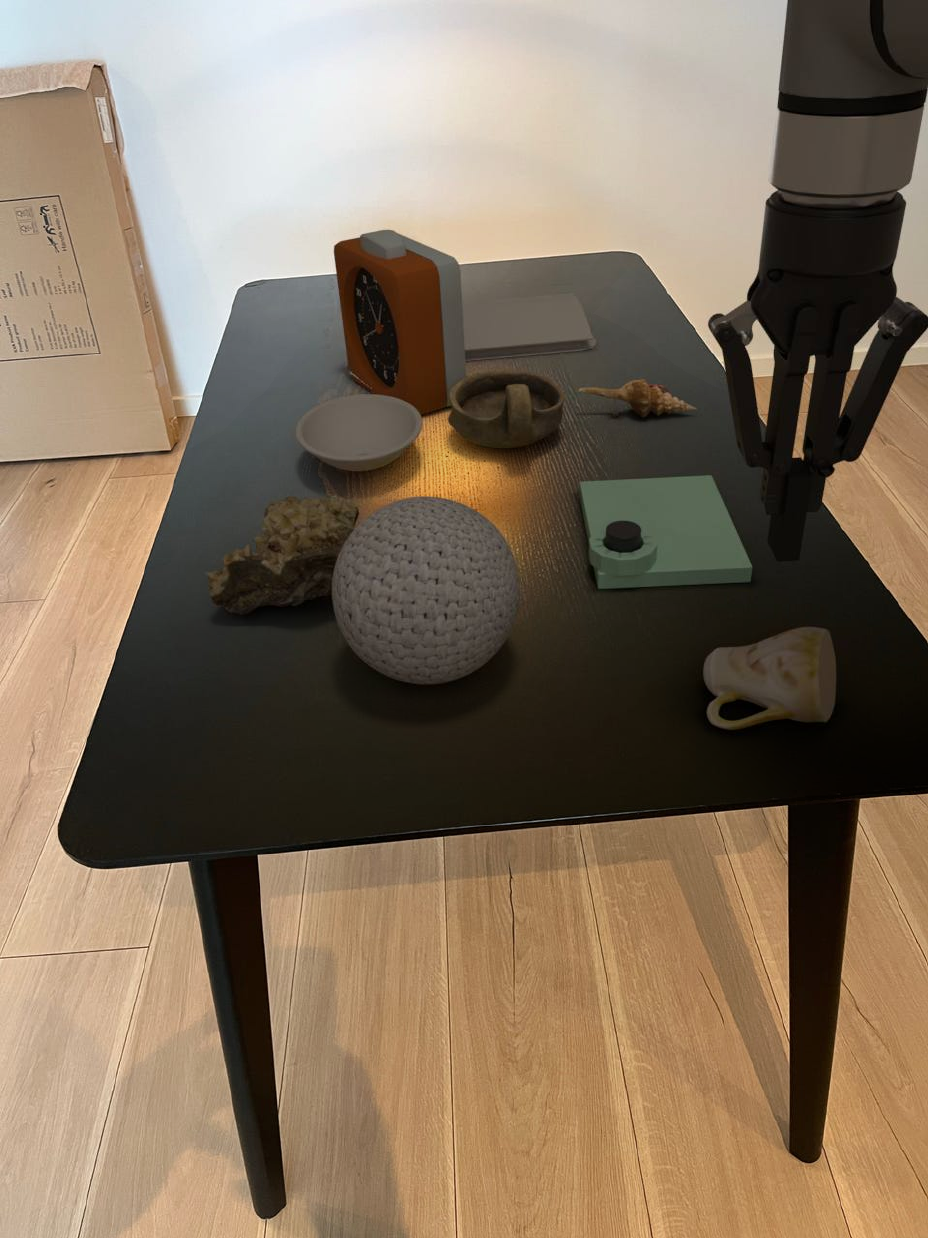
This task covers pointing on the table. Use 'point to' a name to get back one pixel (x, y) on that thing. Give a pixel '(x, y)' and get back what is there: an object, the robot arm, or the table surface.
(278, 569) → the mineral specimen
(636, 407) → the spiral seashell
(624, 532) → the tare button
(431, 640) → the decorative ball
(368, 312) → the alarm clock
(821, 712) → the mug
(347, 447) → the dish
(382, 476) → the table surface
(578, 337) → the book
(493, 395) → the bowl
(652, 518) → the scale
